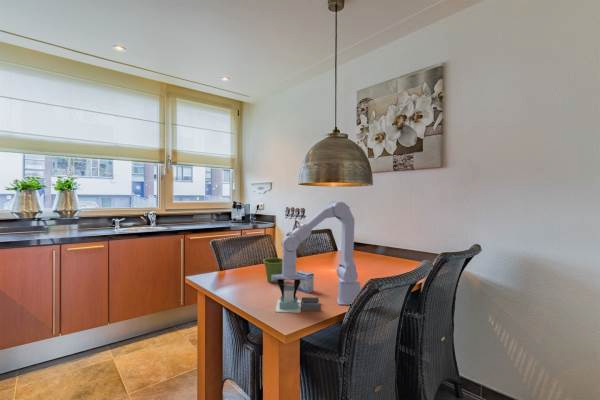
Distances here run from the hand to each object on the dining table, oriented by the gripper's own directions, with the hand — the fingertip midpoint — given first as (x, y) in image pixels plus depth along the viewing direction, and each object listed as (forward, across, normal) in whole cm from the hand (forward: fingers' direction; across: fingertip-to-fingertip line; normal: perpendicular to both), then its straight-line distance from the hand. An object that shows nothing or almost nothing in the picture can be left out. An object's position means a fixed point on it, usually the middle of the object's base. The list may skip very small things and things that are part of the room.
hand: (288, 297), depth 125 cm
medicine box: (+4, +7, +21) cm, 22 cm away
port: (+4, 0, 0) cm, 4 cm away
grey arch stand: (+4, +9, 0) cm, 10 cm away
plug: (+2, 0, 0) cm, 2 cm away
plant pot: (+4, -9, +35) cm, 36 cm away
